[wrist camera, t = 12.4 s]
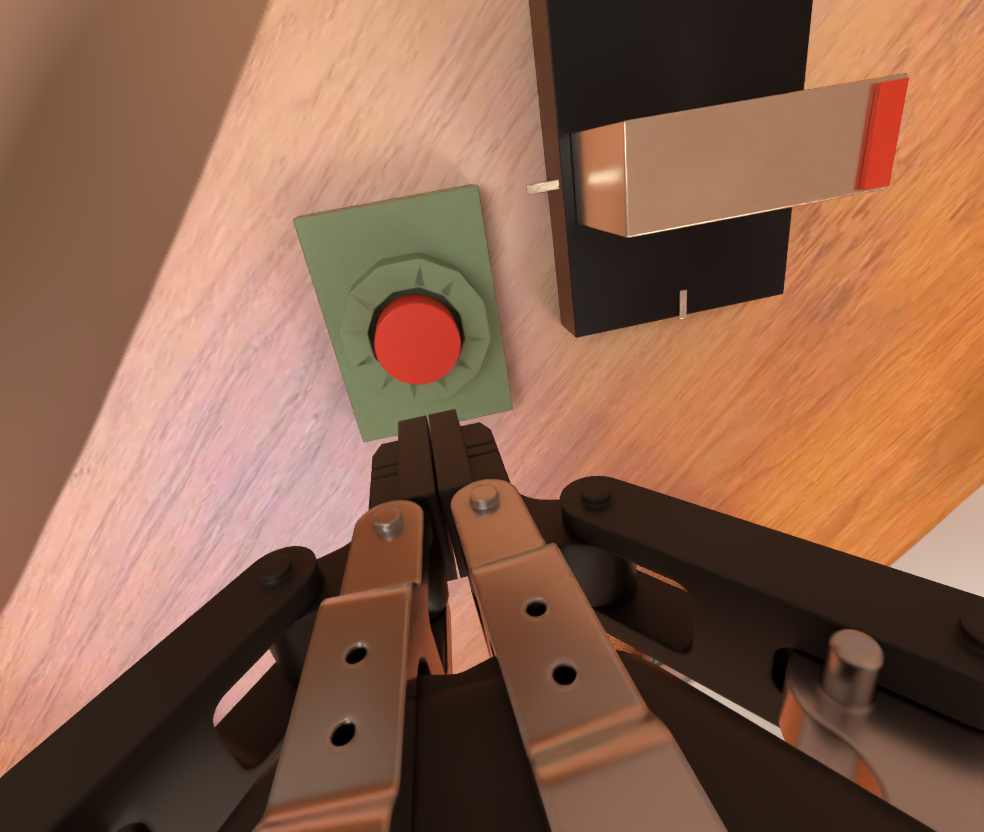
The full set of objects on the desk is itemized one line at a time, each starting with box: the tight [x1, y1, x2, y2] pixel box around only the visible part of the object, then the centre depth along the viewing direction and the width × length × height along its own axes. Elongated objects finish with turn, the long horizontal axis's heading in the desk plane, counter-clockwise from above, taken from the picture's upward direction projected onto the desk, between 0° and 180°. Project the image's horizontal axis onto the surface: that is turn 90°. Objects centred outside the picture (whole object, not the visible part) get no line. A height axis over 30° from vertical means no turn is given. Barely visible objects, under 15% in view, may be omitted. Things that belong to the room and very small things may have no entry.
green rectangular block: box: [293, 185, 513, 442], centre depth 24 cm, size 11×8×4 cm
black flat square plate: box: [526, 0, 813, 338], centre depth 23 cm, size 14×14×3 cm
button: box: [374, 294, 461, 385], centre depth 22 cm, size 4×4×2 cm
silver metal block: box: [571, 73, 909, 238], centre depth 20 cm, size 10×4×6 cm, turn 99°
